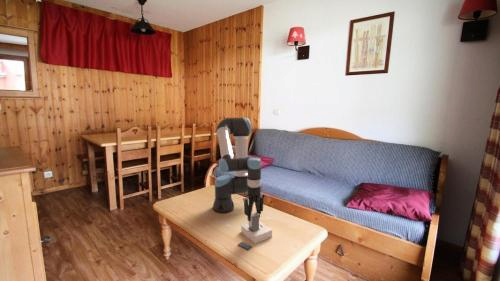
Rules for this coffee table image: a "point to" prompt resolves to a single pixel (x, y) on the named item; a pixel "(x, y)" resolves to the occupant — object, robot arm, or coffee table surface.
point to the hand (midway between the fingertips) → (253, 224)
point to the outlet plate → (257, 232)
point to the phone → (244, 245)
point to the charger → (254, 223)
